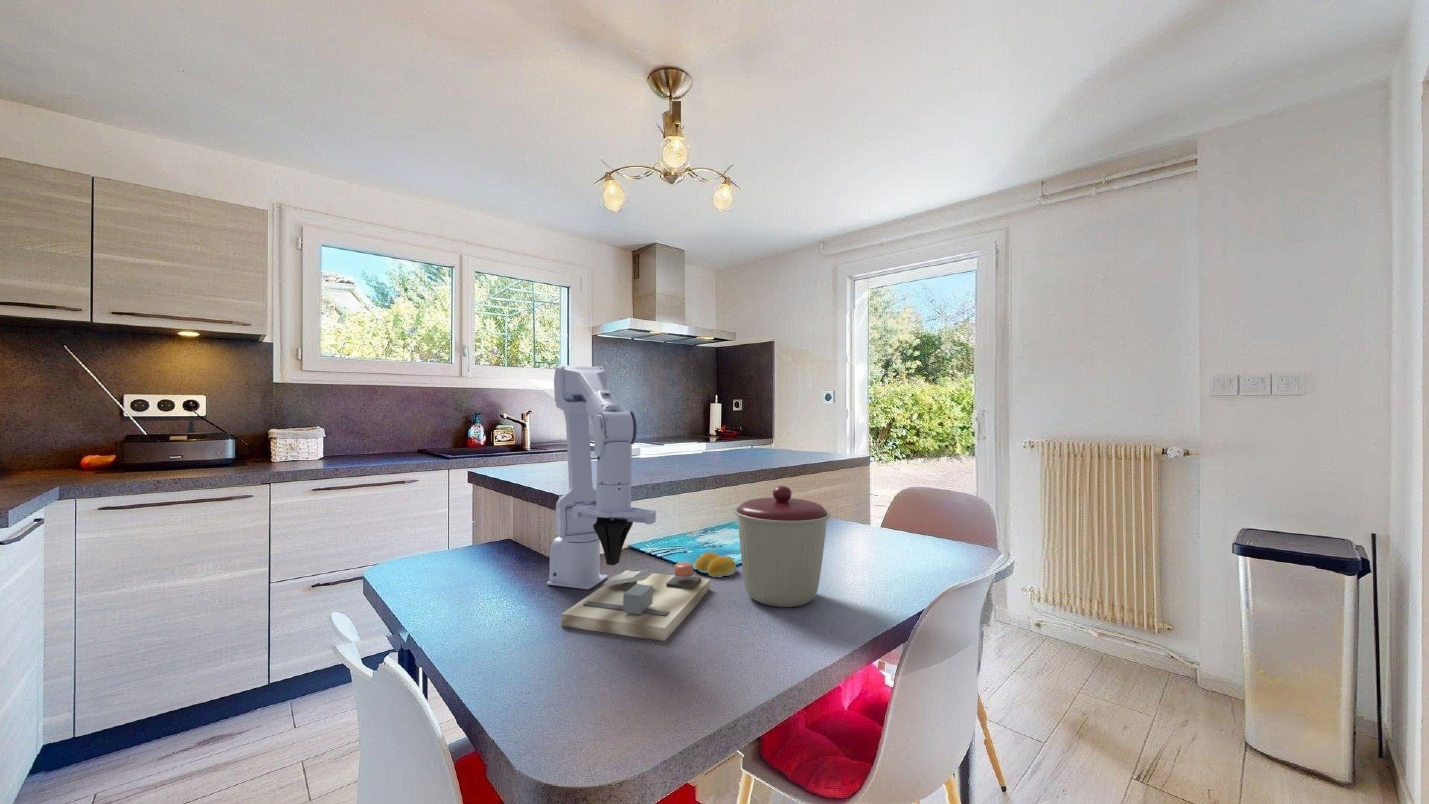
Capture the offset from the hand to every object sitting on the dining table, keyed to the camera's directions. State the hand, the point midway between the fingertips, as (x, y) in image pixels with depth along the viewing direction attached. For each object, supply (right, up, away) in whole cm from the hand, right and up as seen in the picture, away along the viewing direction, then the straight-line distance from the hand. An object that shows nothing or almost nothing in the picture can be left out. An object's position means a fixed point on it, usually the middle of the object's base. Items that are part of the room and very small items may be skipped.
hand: (612, 563), depth 90 cm
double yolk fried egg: (+17, -10, +26) cm, 33 cm away
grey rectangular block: (+4, -7, -1) cm, 8 cm away
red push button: (+11, -6, +12) cm, 18 cm away
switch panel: (+4, -10, +6) cm, 12 cm away
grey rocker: (+1, -6, +10) cm, 12 cm away
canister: (+30, -10, +11) cm, 33 cm away
